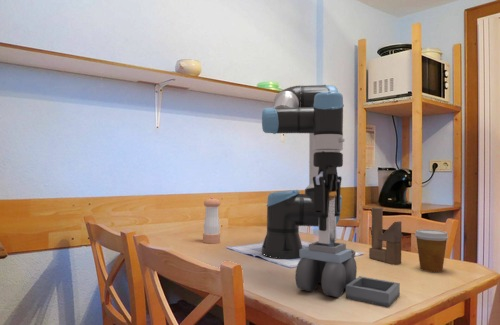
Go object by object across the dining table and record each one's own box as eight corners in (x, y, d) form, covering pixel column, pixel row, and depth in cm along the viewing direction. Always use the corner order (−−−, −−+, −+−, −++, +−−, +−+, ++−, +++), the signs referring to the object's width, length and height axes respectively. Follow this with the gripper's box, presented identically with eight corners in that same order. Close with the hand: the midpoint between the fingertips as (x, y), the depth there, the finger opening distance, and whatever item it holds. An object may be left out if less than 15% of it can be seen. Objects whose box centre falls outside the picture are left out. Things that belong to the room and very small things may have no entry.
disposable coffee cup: (450, 269, 118) (450, 231, 118) (446, 275, 110) (446, 235, 110) (417, 264, 123) (417, 228, 124) (411, 270, 115) (412, 231, 116)
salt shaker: (199, 241, 159) (200, 196, 159) (213, 239, 164) (213, 196, 164) (209, 244, 153) (210, 197, 154) (223, 242, 158) (224, 197, 159)
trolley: (291, 292, 93) (292, 246, 93) (318, 277, 106) (319, 237, 106) (333, 301, 87) (333, 251, 87) (356, 284, 100) (356, 241, 100)
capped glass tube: (315, 250, 96) (316, 191, 96) (322, 247, 100) (323, 190, 100) (332, 252, 93) (332, 191, 94) (338, 249, 97) (339, 191, 97)
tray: (345, 298, 89) (345, 285, 89) (359, 287, 97) (359, 276, 97) (388, 307, 83) (388, 293, 84) (399, 295, 92) (399, 283, 92)
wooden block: (394, 265, 122) (394, 210, 123) (368, 258, 131) (369, 207, 132) (401, 263, 124) (402, 209, 125) (375, 257, 133) (376, 206, 134)
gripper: (328, 149, 88) (328, 249, 88) (353, 153, 102) (352, 239, 101) (300, 150, 92) (299, 245, 92) (327, 153, 106) (326, 236, 105)
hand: (327, 241), depth 97 cm, fingers closed on capped glass tube, 3 cm apart
